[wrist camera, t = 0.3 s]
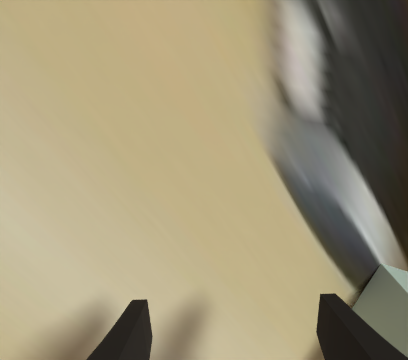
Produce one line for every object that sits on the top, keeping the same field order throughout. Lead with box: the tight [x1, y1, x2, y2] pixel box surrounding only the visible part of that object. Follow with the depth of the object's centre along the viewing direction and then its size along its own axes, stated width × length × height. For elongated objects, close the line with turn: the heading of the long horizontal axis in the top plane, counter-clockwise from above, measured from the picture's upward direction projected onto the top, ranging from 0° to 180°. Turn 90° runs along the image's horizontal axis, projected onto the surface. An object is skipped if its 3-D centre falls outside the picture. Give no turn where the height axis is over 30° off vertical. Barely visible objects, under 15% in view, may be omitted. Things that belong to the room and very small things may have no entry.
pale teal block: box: [352, 264, 408, 357], centre depth 22 cm, size 9×3×6 cm, turn 161°
